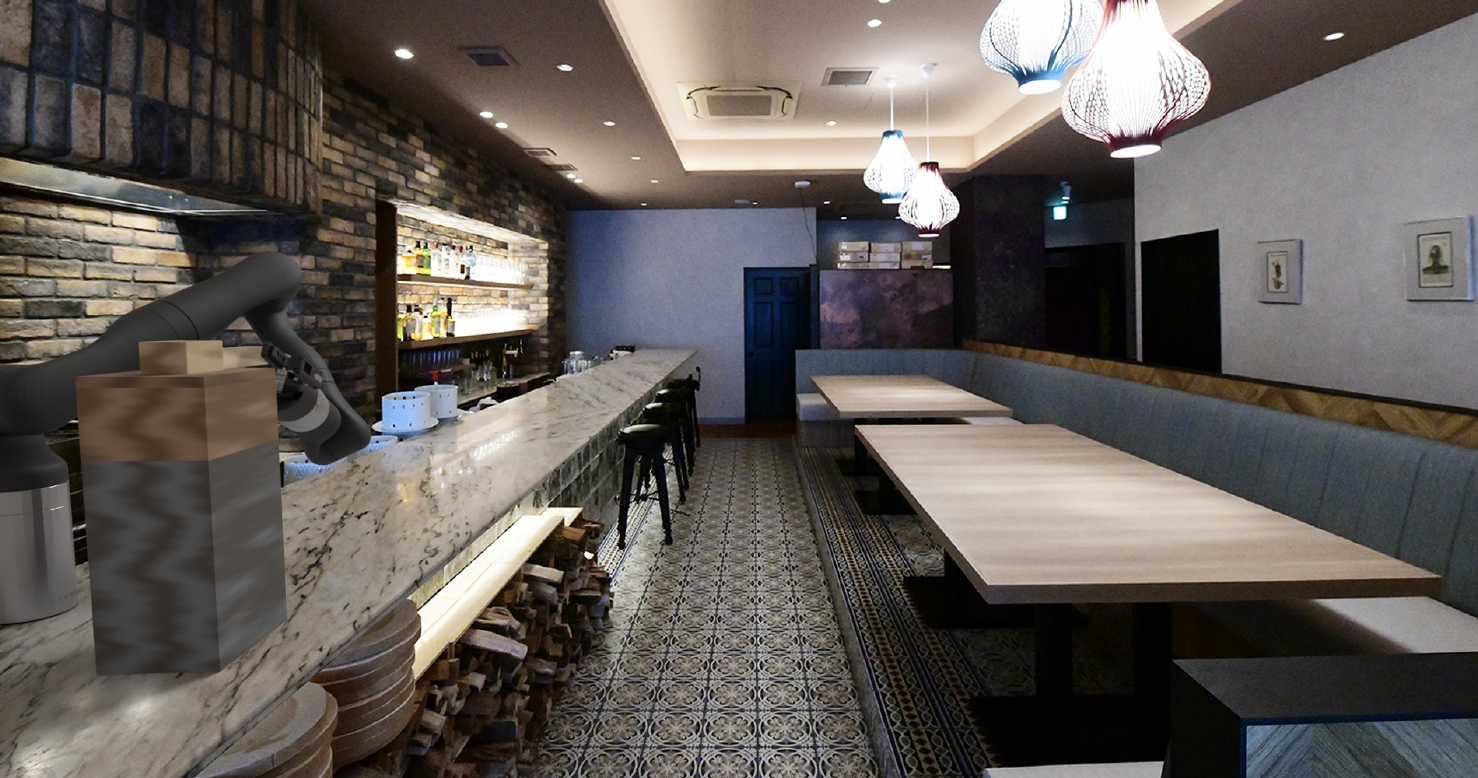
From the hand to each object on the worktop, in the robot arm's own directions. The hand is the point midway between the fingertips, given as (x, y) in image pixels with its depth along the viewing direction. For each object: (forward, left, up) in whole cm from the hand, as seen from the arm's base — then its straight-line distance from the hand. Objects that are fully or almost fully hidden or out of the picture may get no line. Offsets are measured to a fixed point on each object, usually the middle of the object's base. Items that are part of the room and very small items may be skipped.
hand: (236, 348), depth 100 cm
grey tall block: (0, -11, -36) cm, 37 cm away
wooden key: (0, -5, -2) cm, 5 cm away
